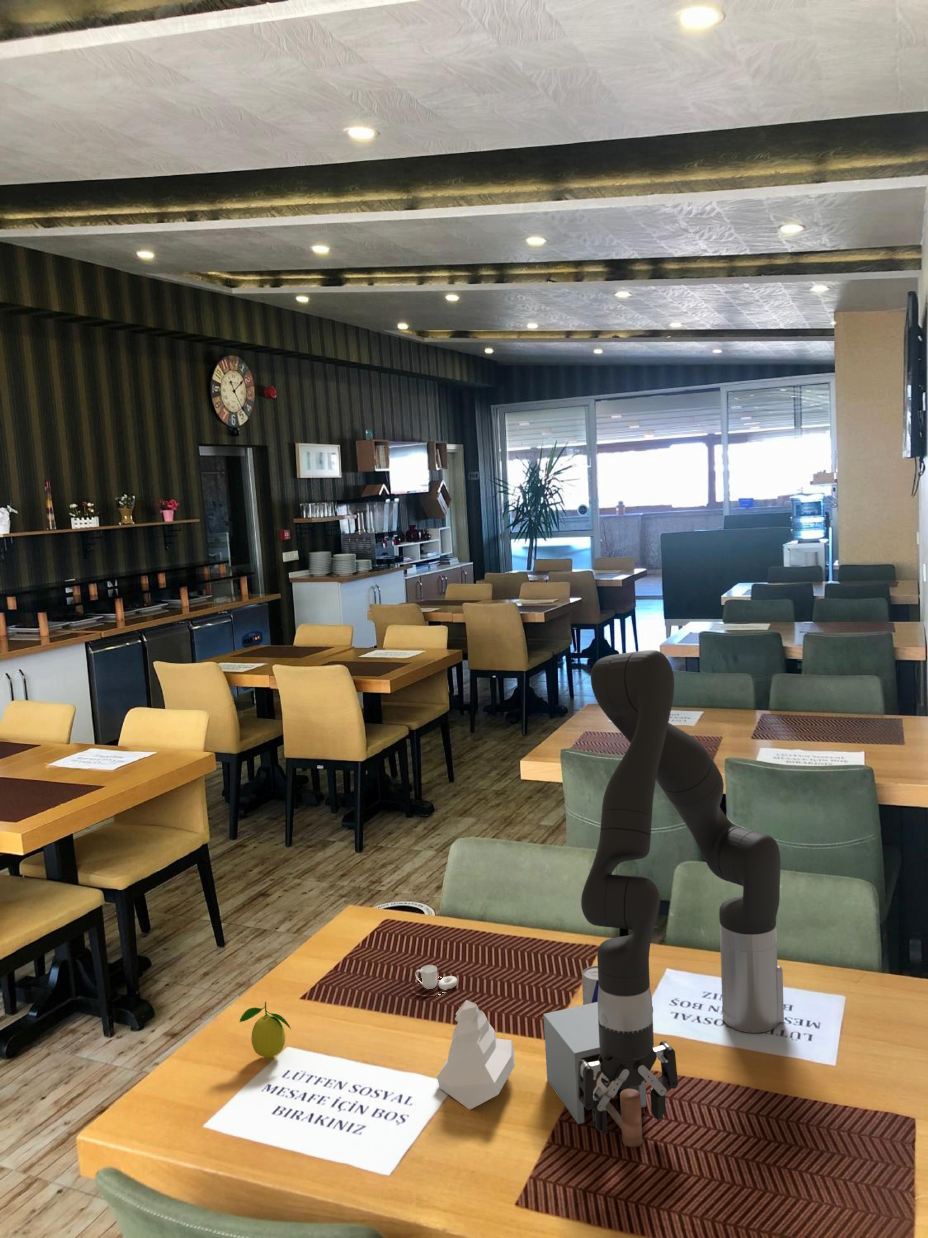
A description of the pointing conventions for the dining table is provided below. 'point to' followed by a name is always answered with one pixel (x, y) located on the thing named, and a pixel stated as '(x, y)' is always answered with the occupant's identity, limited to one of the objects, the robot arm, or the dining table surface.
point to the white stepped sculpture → (475, 1059)
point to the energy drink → (590, 985)
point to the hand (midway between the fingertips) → (629, 1124)
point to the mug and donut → (435, 978)
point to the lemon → (266, 1032)
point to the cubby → (573, 1052)
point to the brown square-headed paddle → (624, 1111)
